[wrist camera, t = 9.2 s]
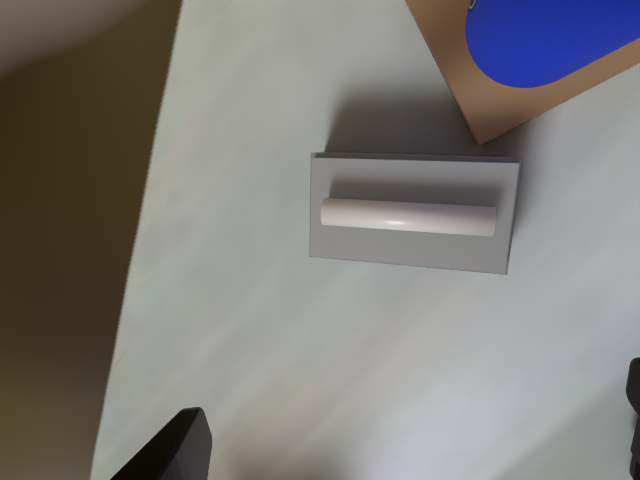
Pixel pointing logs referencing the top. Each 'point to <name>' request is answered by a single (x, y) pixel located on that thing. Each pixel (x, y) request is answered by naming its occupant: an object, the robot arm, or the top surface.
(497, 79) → the beverage can
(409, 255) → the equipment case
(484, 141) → the brown square slab
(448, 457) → the top surface
